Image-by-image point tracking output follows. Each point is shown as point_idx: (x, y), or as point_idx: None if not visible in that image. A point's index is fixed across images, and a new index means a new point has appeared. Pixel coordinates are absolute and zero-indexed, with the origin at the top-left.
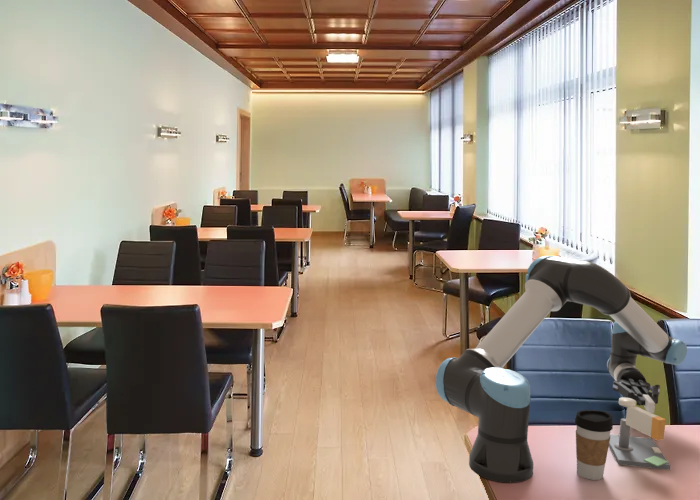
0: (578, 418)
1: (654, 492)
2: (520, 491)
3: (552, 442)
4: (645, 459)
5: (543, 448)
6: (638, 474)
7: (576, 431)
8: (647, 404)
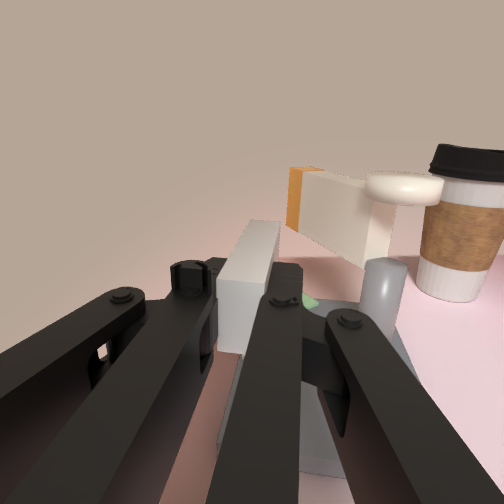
0: None
1: (322, 259)
2: None
3: None
4: (314, 302)
5: None
6: (339, 291)
7: None
8: (277, 248)
